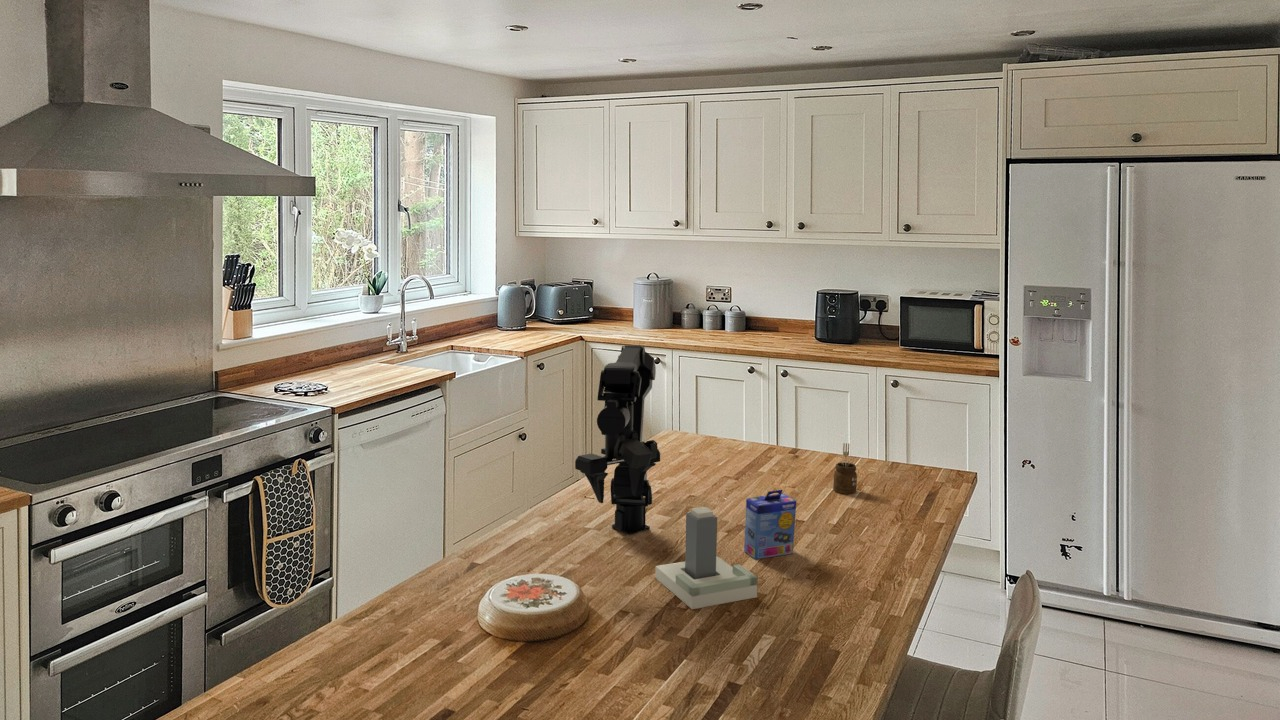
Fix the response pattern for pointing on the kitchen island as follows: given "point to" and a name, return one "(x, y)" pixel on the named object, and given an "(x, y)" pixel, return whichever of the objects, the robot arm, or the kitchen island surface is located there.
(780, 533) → the ink cartridge box
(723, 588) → the socket box
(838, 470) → the utensil holder
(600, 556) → the kitchen island surface
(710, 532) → the plug
